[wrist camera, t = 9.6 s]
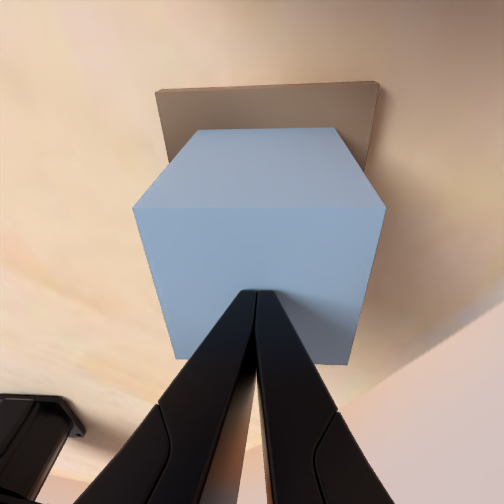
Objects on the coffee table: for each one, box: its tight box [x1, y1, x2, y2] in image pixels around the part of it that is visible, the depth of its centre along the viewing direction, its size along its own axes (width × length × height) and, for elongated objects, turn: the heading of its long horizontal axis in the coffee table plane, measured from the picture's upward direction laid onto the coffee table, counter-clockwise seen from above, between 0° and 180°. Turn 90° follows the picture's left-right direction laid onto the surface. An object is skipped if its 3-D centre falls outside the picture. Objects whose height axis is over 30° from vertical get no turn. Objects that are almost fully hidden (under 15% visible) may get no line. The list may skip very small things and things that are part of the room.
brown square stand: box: [155, 81, 380, 173], centre depth 11 cm, size 8×8×6 cm
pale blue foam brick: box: [132, 127, 386, 365], centre depth 10 cm, size 5×5×7 cm
